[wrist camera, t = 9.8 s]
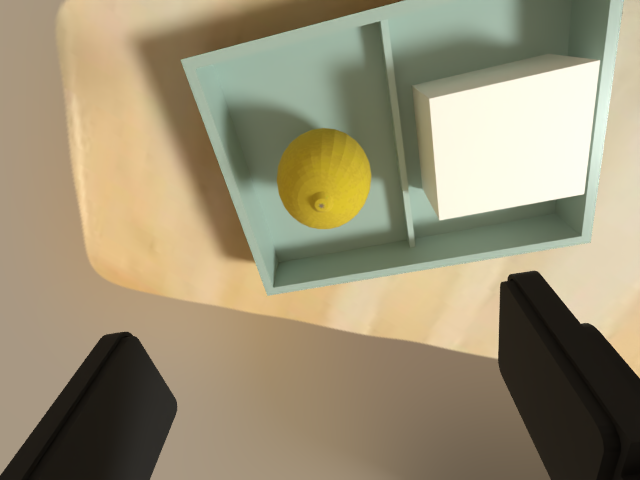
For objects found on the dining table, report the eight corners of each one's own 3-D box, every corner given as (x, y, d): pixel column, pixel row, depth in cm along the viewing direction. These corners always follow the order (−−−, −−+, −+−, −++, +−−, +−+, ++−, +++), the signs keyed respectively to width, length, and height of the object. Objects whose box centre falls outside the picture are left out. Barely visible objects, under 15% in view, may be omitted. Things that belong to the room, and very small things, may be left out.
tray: (203, 54, 23) (180, 59, 20) (581, -45, 20) (631, -60, 17) (275, 265, 31) (267, 295, 28) (558, 215, 28) (590, 242, 24)
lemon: (270, 164, 26) (245, 213, 19) (318, 97, 24) (310, 126, 17) (332, 209, 28) (330, 270, 21) (383, 151, 25) (400, 197, 18)
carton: (411, 85, 23) (429, 98, 19) (548, 53, 22) (600, 60, 18) (422, 188, 27) (439, 220, 22) (541, 165, 26) (584, 194, 21)
